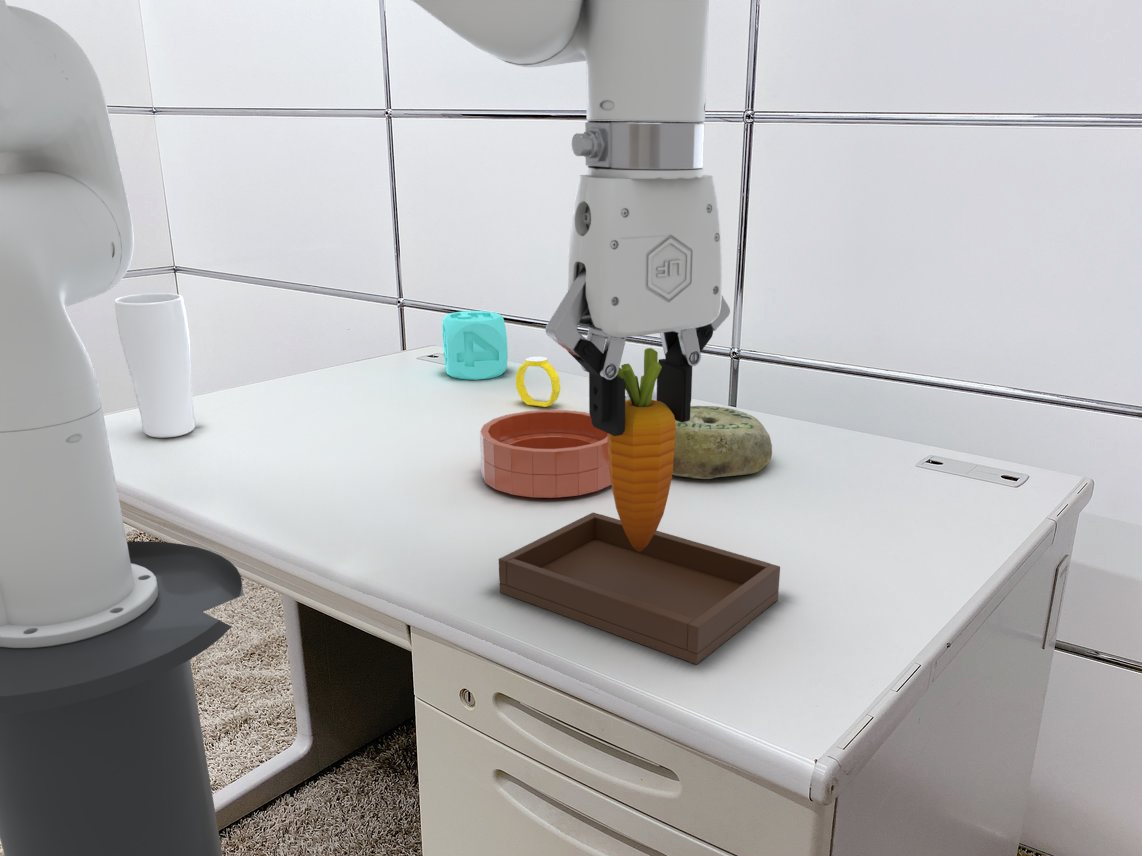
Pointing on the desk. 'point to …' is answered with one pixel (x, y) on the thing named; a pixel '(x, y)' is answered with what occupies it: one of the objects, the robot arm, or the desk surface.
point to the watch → (551, 373)
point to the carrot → (642, 455)
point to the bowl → (544, 454)
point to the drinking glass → (158, 360)
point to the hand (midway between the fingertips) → (641, 421)
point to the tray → (642, 585)
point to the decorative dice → (474, 345)
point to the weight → (720, 444)
